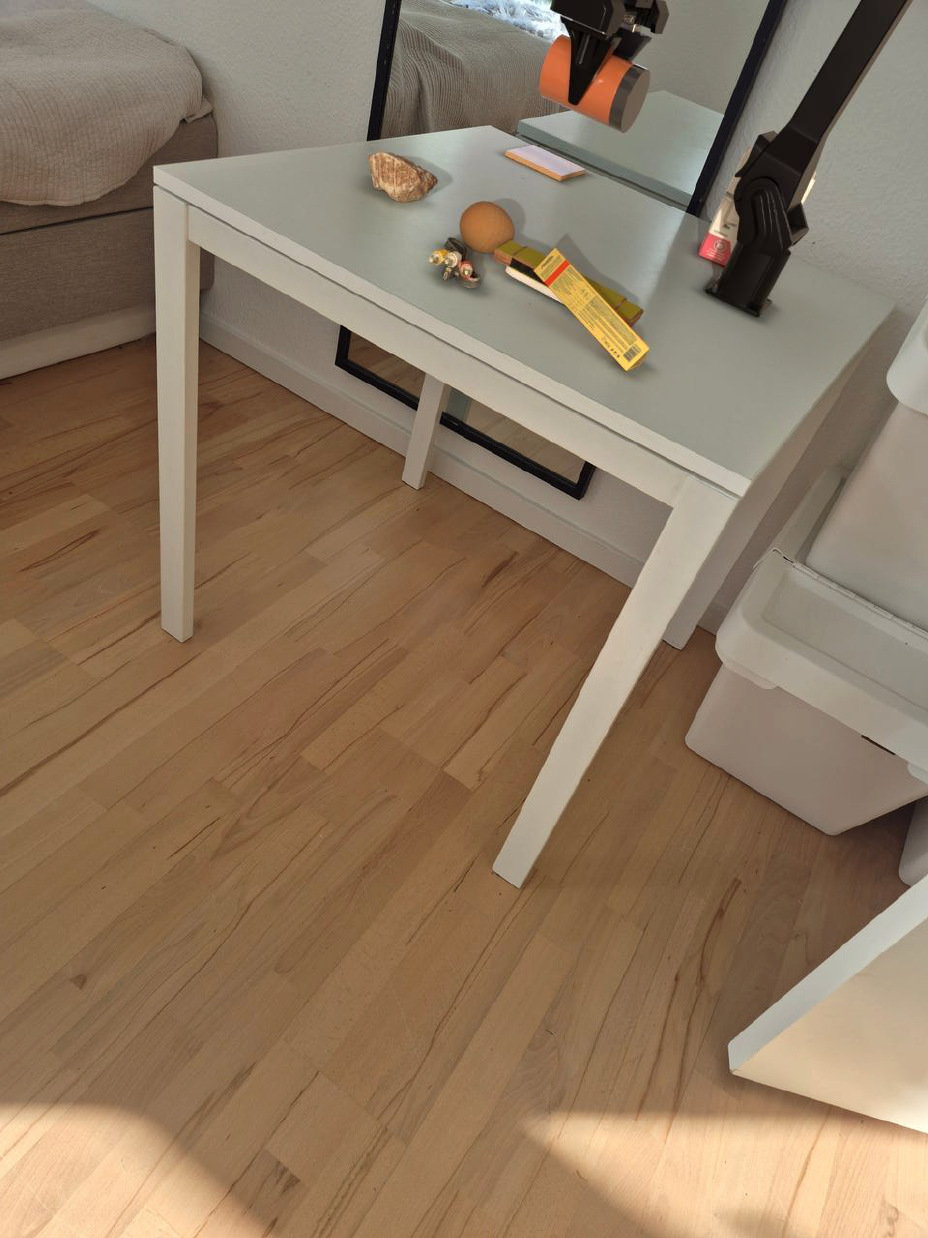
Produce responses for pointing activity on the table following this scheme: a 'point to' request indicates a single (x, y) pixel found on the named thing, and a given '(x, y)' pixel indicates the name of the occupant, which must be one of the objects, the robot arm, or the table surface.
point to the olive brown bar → (522, 268)
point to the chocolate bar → (592, 310)
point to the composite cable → (456, 263)
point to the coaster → (545, 162)
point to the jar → (597, 87)
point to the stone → (400, 177)
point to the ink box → (729, 222)
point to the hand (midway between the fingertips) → (583, 102)
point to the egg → (486, 227)
